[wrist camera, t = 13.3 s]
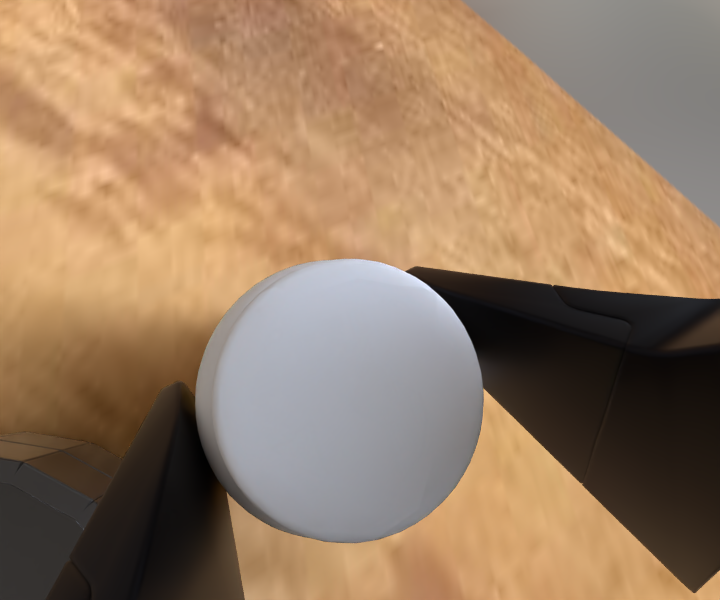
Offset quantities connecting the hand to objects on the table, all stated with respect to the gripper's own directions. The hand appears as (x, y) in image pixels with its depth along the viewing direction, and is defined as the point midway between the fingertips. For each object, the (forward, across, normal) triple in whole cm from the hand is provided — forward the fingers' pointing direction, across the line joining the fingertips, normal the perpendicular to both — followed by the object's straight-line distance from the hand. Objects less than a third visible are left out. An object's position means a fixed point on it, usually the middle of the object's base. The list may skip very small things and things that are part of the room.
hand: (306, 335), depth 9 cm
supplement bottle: (+4, 0, +6) cm, 7 cm away
